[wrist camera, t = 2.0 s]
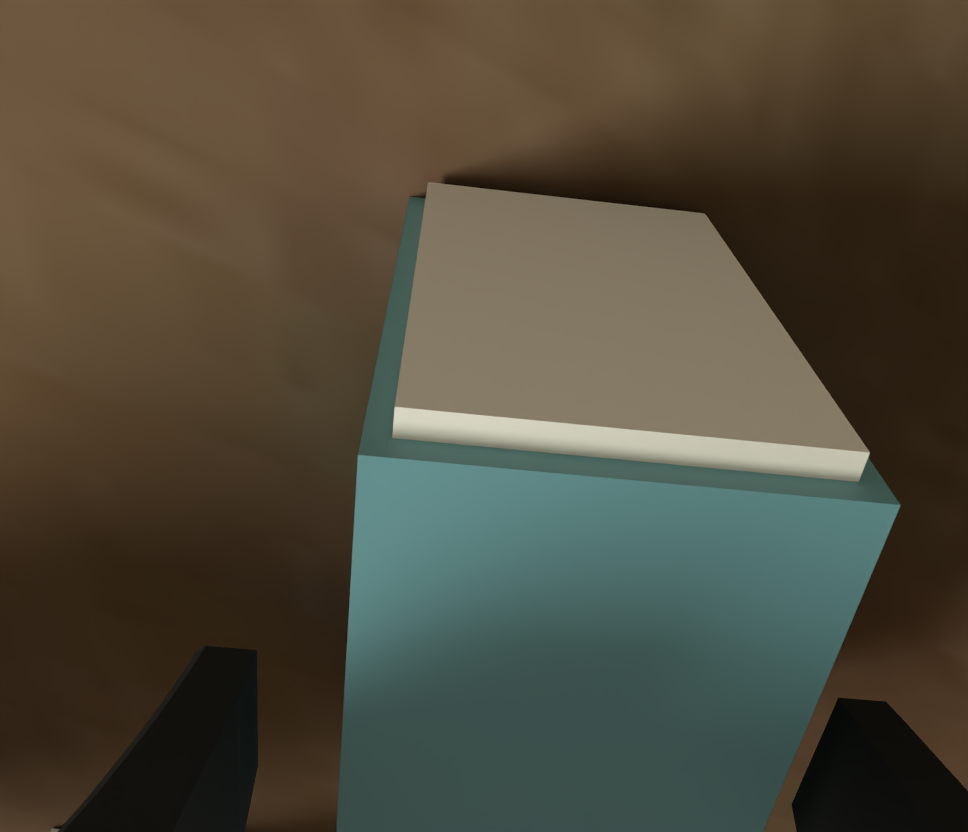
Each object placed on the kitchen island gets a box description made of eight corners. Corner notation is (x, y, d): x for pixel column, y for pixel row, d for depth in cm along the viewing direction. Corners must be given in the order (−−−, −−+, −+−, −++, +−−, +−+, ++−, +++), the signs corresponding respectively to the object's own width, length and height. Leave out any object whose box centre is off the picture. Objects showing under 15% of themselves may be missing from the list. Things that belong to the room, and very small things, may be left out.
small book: (371, 685, 18) (321, 1080, 12) (411, 174, 13) (359, 423, 7) (594, 702, 19) (650, 1095, 13) (717, 208, 14) (913, 474, 8)
